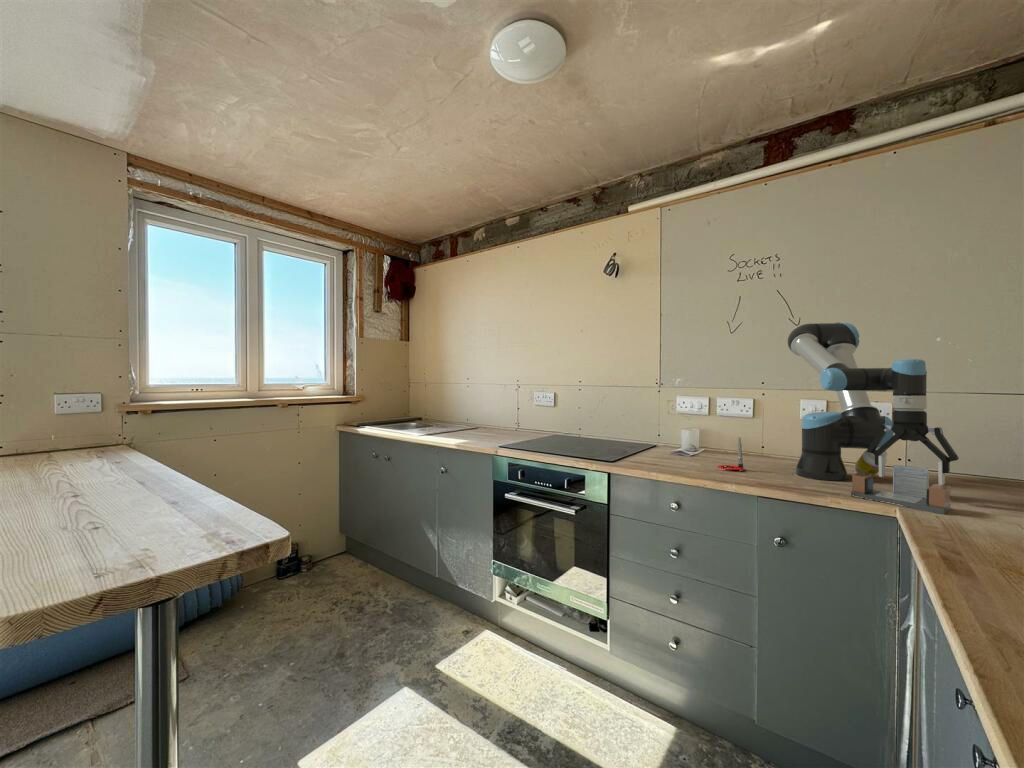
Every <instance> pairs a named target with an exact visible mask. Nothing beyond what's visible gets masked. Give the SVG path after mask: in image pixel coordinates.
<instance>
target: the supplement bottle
mask: <svg viewBox="0 0 1024 768" xmlns="http://www.w3.org/2000/svg"><path fill="white" fill-rule="evenodd" d="M879 448H880V447H877V448H876V449H875V450H878V449H879ZM881 455H885V464H887V460H888V459H887V457H888V453H887V450H886V451H884V452H883V453H882V454H881ZM853 469H854V472H855V474H856V473H859V472H861V473H867V474H872V477H875V476H876V475H877V474H879V465H875V455H874V454H872V453H869V452H867V449H866V450H865V451H863V453H862V454H861V455H860V457H859V458H858V459H857V460H856V462H855V463H854V467H853Z"/></svg>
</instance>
